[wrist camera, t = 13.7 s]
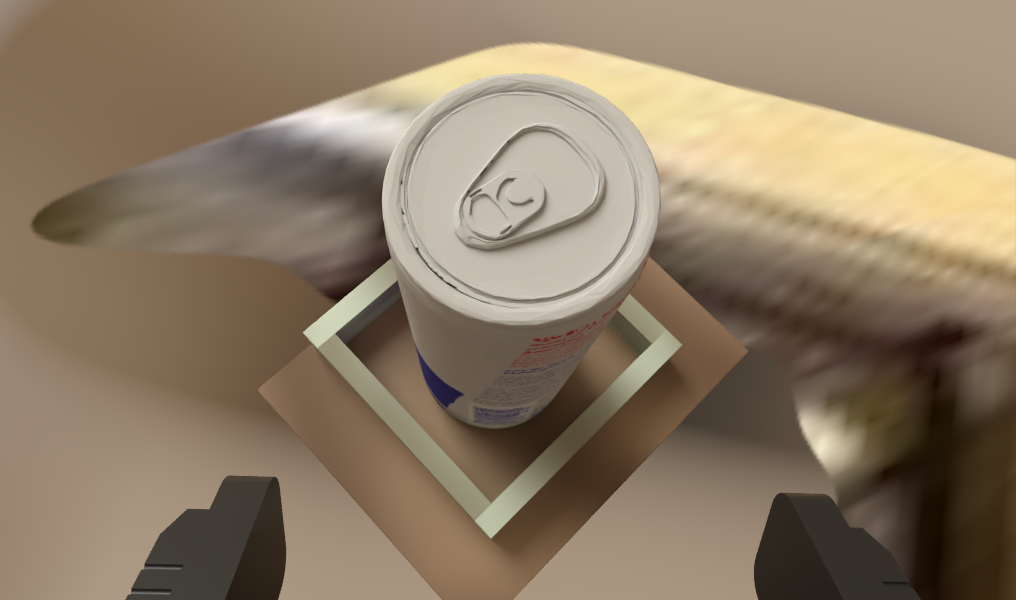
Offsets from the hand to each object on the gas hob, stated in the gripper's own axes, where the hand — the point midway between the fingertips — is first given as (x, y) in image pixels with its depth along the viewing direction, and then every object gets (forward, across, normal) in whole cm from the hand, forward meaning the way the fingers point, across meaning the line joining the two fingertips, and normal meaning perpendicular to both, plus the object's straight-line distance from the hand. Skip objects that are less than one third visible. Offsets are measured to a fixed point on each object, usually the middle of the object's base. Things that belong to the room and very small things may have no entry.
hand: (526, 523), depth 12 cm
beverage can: (+15, 0, +7) cm, 17 cm away
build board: (+16, -1, +8) cm, 18 cm away
